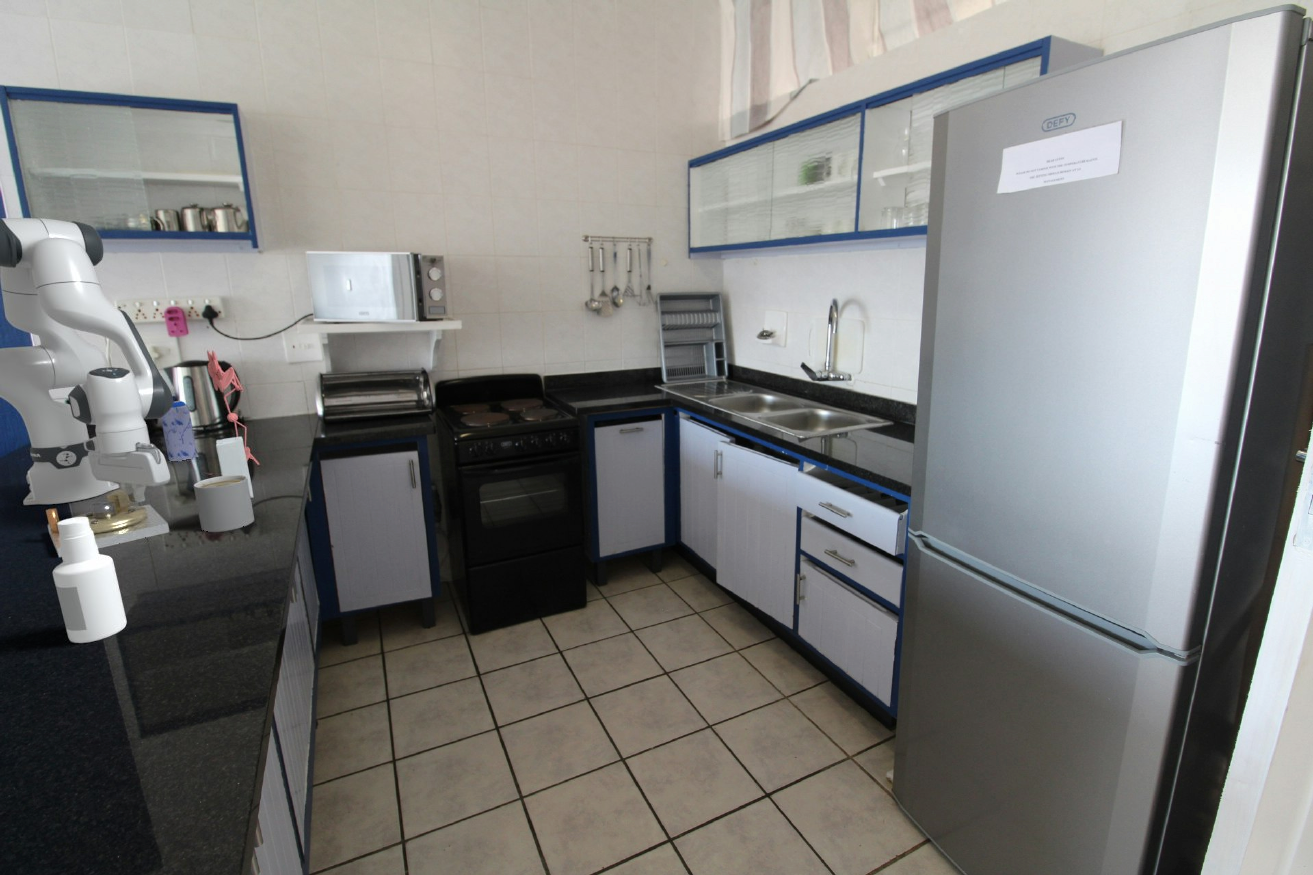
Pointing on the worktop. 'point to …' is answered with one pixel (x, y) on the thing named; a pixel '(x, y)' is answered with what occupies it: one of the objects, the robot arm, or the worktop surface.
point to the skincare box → (233, 458)
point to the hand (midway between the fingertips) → (136, 501)
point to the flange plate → (117, 519)
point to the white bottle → (87, 585)
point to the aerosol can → (179, 432)
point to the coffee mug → (224, 503)
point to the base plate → (133, 532)
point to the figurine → (223, 382)
